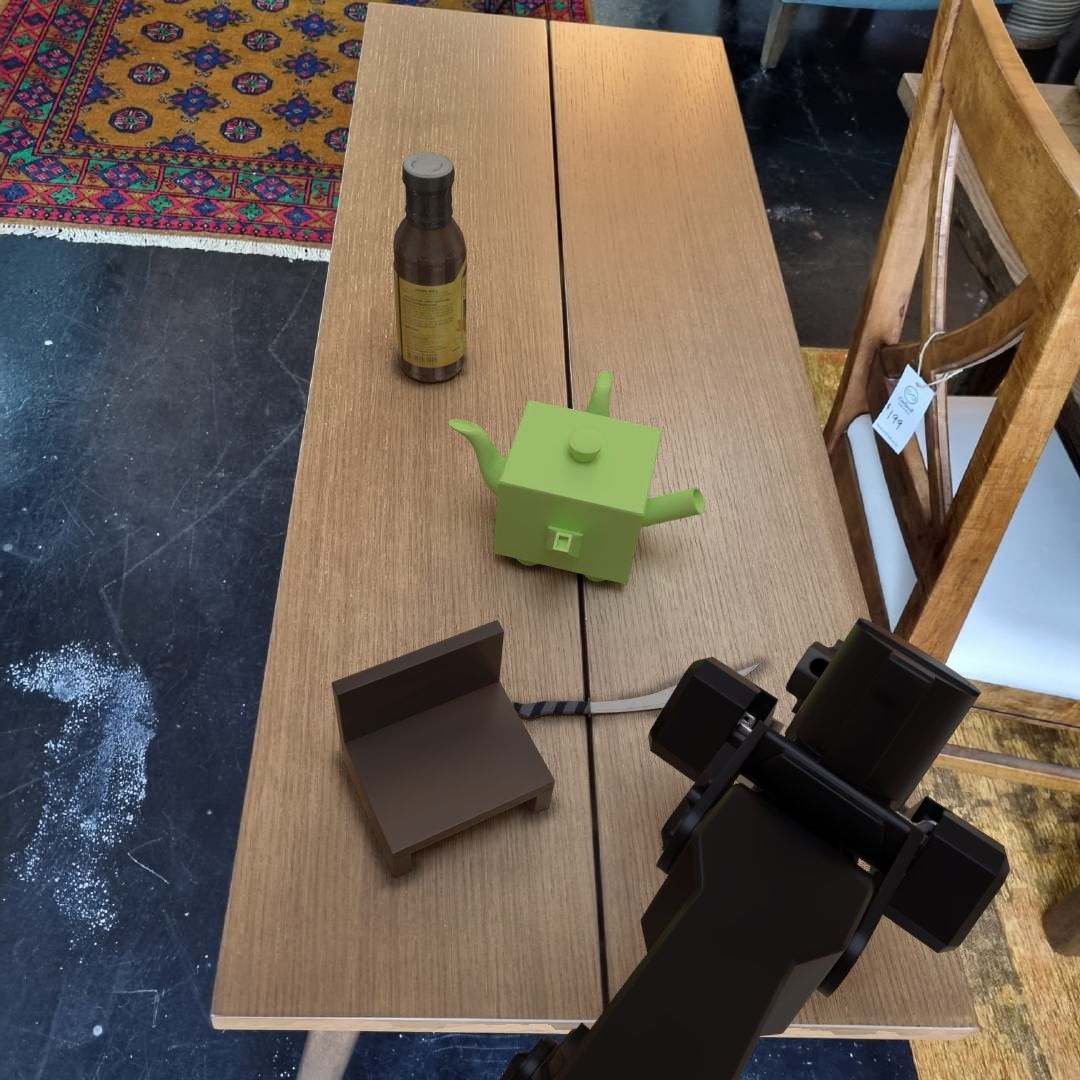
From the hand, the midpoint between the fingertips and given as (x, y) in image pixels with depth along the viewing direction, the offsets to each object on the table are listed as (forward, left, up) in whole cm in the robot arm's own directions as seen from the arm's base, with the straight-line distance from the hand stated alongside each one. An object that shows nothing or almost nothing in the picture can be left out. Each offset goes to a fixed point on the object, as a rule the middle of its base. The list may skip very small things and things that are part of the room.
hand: (834, 767), depth 61 cm
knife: (+13, +5, -8) cm, 16 cm away
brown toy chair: (+12, +20, -7) cm, 25 cm away
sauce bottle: (+51, +4, -8) cm, 52 cm away
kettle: (+28, +2, -8) cm, 30 cm away
